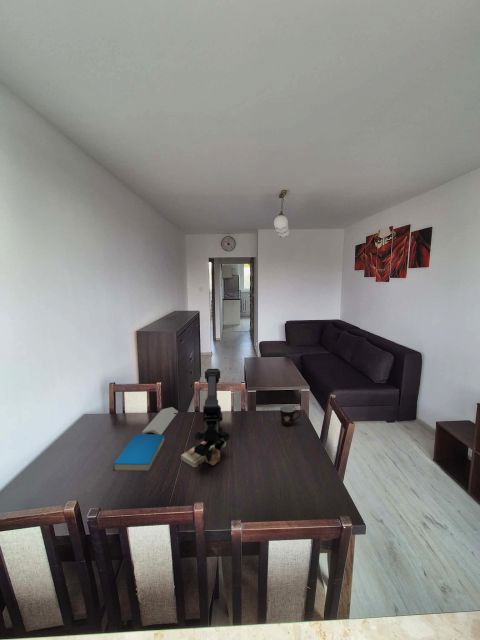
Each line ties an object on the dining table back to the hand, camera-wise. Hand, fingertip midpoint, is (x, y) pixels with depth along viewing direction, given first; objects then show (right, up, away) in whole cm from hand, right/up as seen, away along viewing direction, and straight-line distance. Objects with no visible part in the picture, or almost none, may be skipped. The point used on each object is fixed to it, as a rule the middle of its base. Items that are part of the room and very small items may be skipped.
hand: (212, 458), depth 134 cm
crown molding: (-37, +2, +40) cm, 55 cm away
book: (-37, -2, +8) cm, 38 cm away
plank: (-5, -1, +8) cm, 10 cm away
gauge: (0, -1, 0) cm, 1 cm away
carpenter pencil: (-7, +1, +9) cm, 11 cm away
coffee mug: (+43, +3, +35) cm, 55 cm away
